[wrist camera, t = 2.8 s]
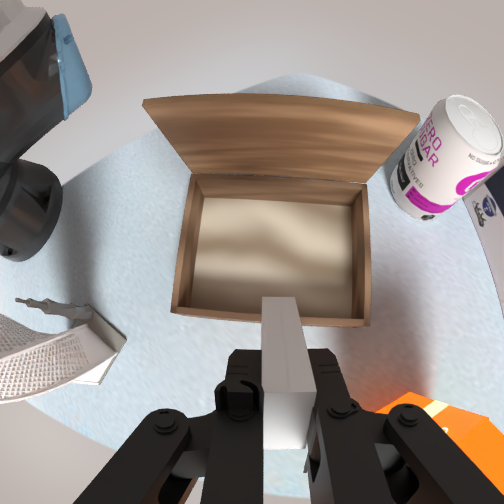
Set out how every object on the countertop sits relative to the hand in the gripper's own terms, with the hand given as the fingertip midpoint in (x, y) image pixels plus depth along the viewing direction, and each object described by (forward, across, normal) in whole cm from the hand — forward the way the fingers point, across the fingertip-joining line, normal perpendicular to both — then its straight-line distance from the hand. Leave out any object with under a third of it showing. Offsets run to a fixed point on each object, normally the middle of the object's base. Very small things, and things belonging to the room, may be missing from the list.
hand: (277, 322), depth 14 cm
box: (+18, +1, -2) cm, 18 cm away
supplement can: (+22, +19, +5) cm, 30 cm away
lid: (+17, +1, +7) cm, 19 cm away
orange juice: (+8, +14, -20) cm, 25 cm away
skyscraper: (+13, -20, -13) cm, 27 cm away
